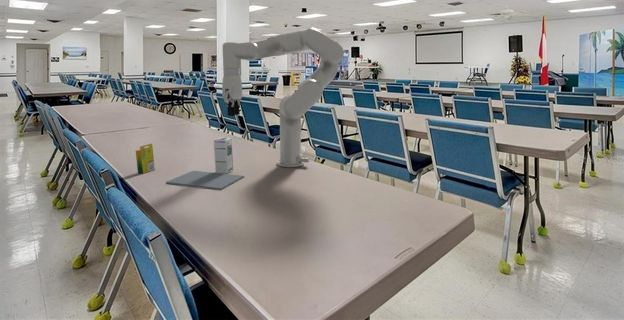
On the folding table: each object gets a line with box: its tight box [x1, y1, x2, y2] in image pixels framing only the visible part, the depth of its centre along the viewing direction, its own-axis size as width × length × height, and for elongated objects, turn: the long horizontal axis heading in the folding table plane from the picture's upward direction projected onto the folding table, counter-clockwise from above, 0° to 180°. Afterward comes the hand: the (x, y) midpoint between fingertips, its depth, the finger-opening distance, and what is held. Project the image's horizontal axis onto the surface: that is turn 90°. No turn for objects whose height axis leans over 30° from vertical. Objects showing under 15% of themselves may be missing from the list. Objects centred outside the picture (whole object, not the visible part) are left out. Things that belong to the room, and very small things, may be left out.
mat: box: [165, 170, 245, 191], centre depth 158 cm, size 24×18×1 cm
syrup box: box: [213, 136, 234, 174], centre depth 169 cm, size 6×6×14 cm
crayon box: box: [135, 143, 156, 175], centre depth 169 cm, size 7×3×12 cm, turn 160°
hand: (233, 114), depth 175 cm, fingers open, 3 cm apart
